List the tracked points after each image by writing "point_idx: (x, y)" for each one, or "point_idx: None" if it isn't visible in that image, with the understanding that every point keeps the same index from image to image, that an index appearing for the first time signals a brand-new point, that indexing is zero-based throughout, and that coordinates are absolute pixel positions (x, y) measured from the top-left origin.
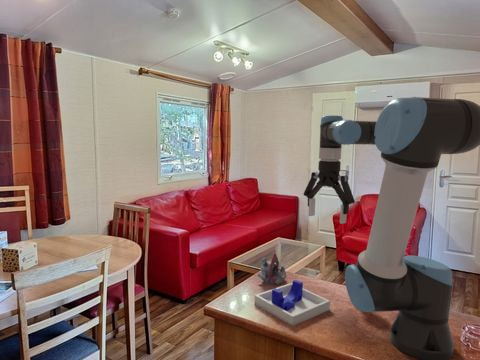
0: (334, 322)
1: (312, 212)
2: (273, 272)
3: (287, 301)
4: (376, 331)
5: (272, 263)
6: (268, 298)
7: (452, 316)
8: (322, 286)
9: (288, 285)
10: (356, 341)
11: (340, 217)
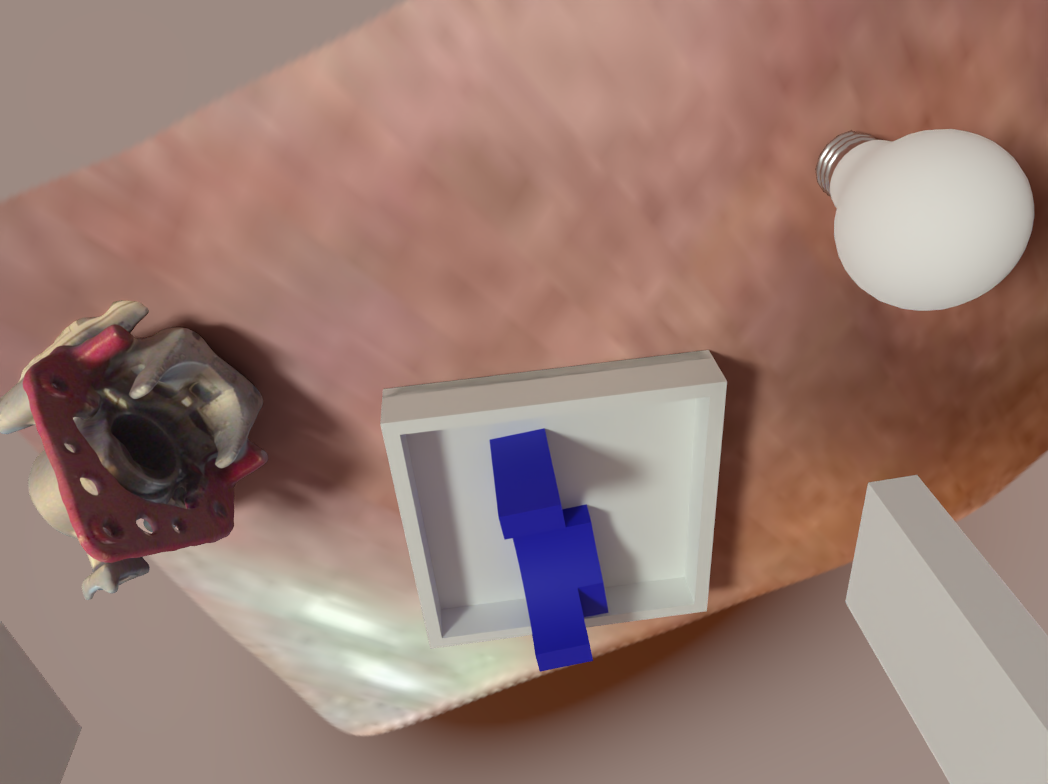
0: (803, 414)
1: (12, 756)
2: (140, 426)
3: (602, 585)
4: (1005, 303)
5: (177, 534)
6: (433, 559)
7: None
8: (425, 135)
9: (404, 456)
10: (956, 439)
11: (920, 709)
